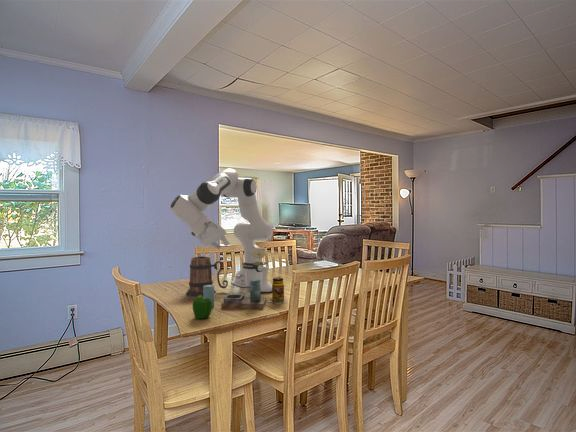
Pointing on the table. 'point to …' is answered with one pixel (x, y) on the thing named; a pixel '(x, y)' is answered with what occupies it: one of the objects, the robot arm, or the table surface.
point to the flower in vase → (259, 254)
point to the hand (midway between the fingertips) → (223, 246)
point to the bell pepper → (202, 307)
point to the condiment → (277, 291)
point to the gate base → (246, 303)
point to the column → (209, 293)
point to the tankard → (202, 275)
